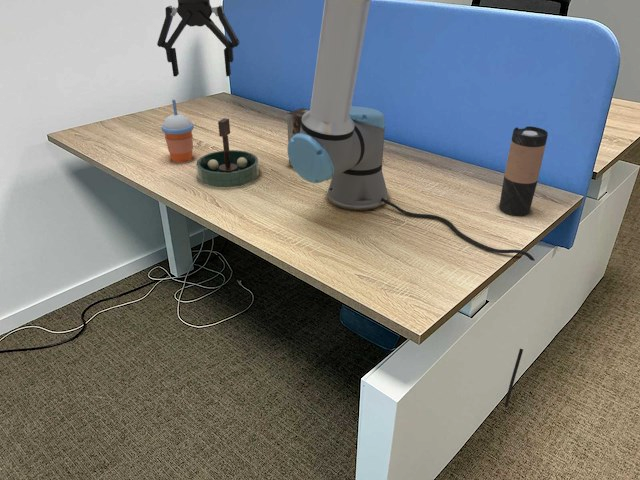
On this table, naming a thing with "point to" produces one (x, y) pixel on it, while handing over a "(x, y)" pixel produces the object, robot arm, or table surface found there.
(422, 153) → the table surface
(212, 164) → the dumpling
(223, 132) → the brown handled stamp
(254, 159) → the bowl
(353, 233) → the table surface
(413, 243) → the table surface
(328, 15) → the robot arm
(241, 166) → the dumpling
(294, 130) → the coffee box
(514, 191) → the travel mug
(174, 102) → the cup with straw
